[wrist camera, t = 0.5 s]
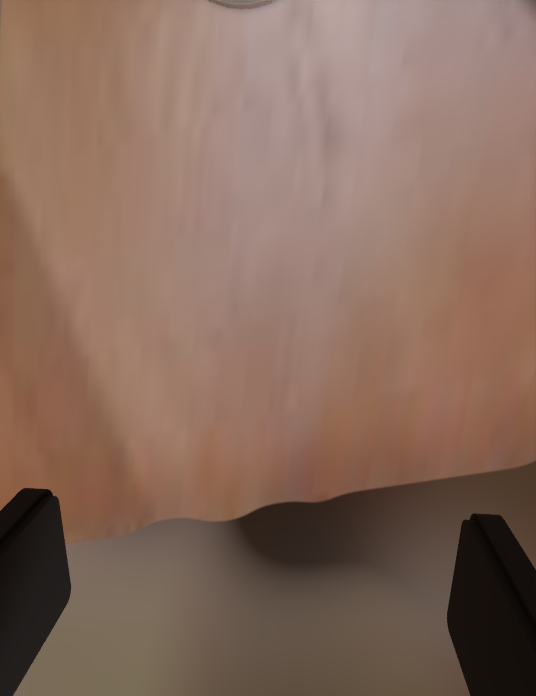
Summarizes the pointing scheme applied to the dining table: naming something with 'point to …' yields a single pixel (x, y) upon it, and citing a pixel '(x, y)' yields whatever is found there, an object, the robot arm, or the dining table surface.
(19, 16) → the dining table surface
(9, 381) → the dining table surface
